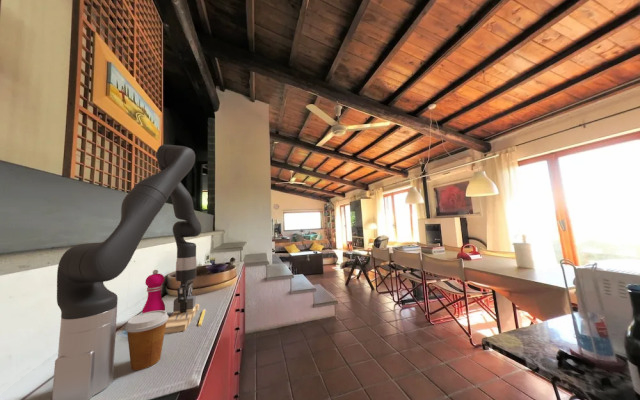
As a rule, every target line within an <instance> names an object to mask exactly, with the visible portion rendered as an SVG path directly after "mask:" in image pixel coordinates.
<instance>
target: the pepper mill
mask: <svg viewBox="0 0 640 400" xmlns="http://www.w3.org/2000/svg"><path fill="white" fill-rule="evenodd" d="M144 282H145V285H146V286H147V288H146V292H147V298H146V301H145V303H144V305H143V308H142V311H141V312H142V313H141V314H143V313H146V312H151V311H159V310H162V311H166V305H165V302H164V300H163V298H162V289H163V283H164V282H165V276H164V274H162V273H159V270H158V269H153V270H152V274H150V275H148V276H147V277H146V279H145V281H144Z"/></svg>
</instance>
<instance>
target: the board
mask: <svg viewBox="0 0 640 400" xmlns="http://www.w3.org/2000/svg"><path fill="white" fill-rule="evenodd" d="M199 310H200V303H195V309H194V310H193V311H189V312H183V313H175V314H173V313H172V314H171V315H170V316H169V318H168V319H167V322H166V327H165V333H164V335H167V334H173V333H181V332H185V331H186V330H187V329H188V327H189V326H190V323H191V322H192V321H193V319H194V317H196V314H197V312H199Z"/></svg>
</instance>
